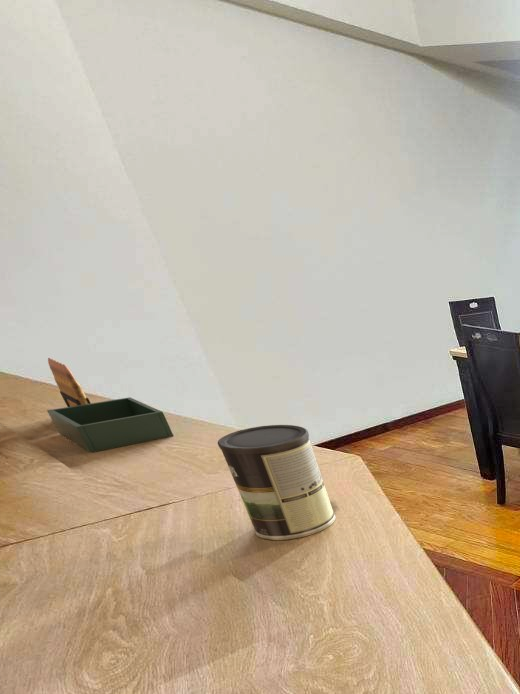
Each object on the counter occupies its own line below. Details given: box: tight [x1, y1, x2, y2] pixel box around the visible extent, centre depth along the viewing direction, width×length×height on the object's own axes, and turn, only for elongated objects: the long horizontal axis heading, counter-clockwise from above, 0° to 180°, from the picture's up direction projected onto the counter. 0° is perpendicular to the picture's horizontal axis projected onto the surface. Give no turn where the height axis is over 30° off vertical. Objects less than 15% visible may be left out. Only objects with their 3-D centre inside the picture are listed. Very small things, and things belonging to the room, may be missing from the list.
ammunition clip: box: [47, 357, 91, 407], centre depth 124 cm, size 11×2×12 cm, turn 58°
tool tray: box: [46, 396, 174, 453], centre depth 117 cm, size 13×17×5 cm
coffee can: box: [217, 424, 337, 541], centre depth 86 cm, size 10×10×14 cm
